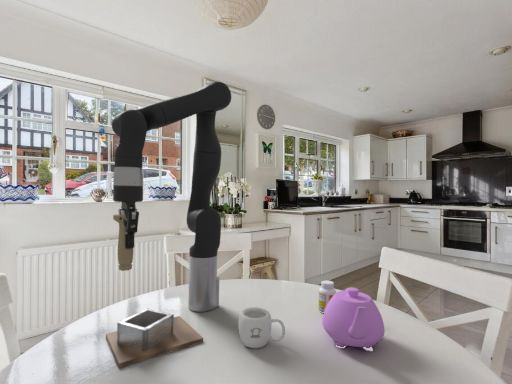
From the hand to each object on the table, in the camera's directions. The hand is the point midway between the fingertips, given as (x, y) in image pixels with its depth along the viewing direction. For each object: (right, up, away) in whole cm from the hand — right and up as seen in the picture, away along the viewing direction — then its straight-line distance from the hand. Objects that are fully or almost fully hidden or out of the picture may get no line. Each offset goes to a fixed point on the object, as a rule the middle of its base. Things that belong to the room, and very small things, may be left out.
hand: (127, 246), depth 81 cm
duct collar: (+7, -23, -6) cm, 25 cm away
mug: (+37, -24, -6) cm, 44 cm away
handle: (-1, -6, 0) cm, 6 cm away
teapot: (+60, -25, -4) cm, 65 cm away
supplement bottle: (+59, -24, +15) cm, 65 cm away
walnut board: (+9, -23, -5) cm, 25 cm away
